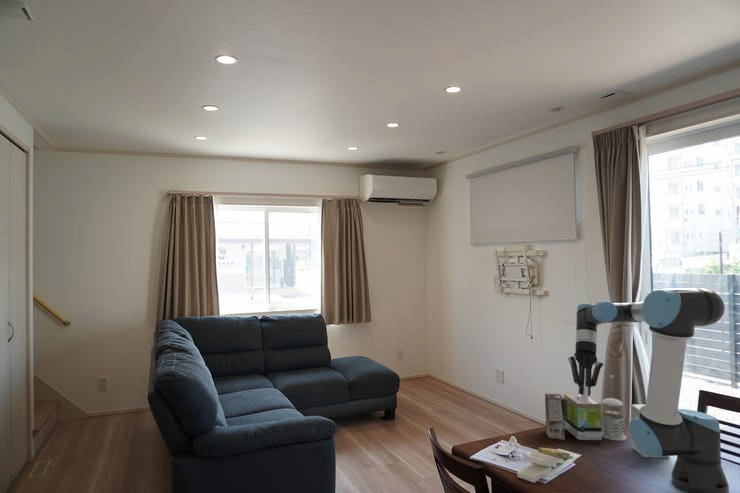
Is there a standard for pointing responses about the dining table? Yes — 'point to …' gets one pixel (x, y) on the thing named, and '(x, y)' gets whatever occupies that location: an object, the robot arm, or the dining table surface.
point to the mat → (565, 462)
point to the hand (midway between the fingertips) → (584, 404)
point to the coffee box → (555, 416)
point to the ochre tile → (554, 452)
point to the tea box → (582, 417)
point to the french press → (612, 419)
